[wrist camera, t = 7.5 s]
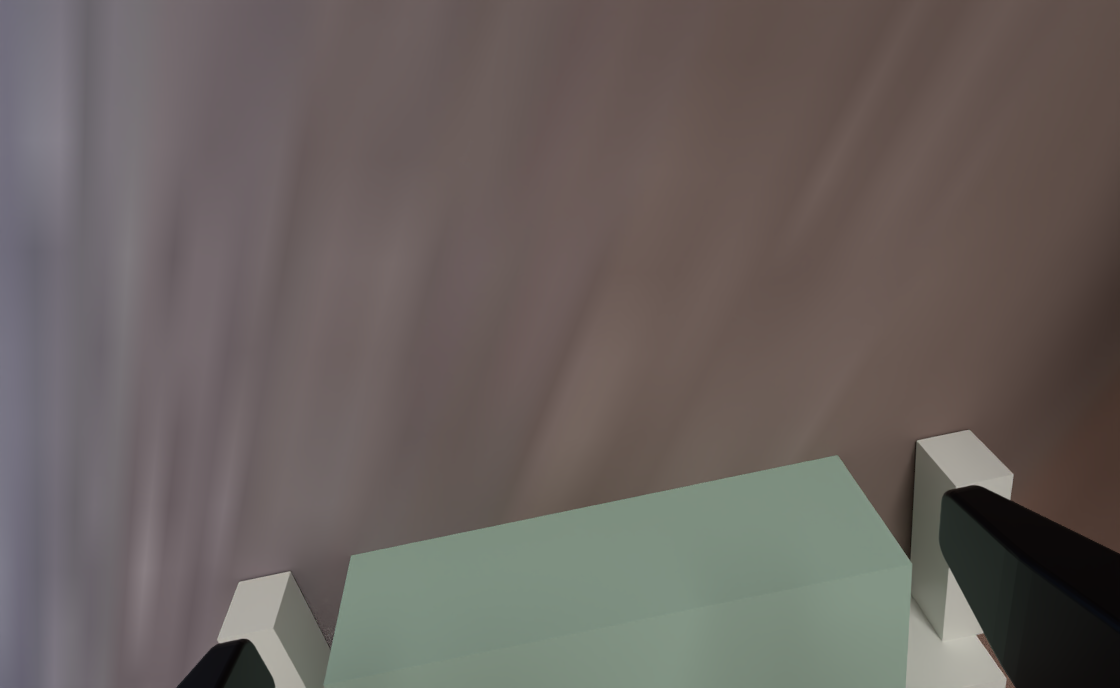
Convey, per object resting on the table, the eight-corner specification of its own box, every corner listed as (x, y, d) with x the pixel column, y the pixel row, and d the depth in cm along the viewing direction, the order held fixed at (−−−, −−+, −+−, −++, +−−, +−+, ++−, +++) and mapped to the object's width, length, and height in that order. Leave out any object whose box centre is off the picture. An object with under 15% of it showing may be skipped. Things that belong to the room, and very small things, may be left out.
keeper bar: (833, 448, 21) (912, 564, 17) (835, 595, 24) (903, 723, 20) (352, 548, 22) (323, 685, 18) (411, 682, 24) (397, 826, 20)
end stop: (969, 429, 21) (1052, 513, 18) (949, 642, 25) (1012, 740, 22) (239, 581, 21) (197, 690, 18) (343, 767, 26) (323, 880, 23)
